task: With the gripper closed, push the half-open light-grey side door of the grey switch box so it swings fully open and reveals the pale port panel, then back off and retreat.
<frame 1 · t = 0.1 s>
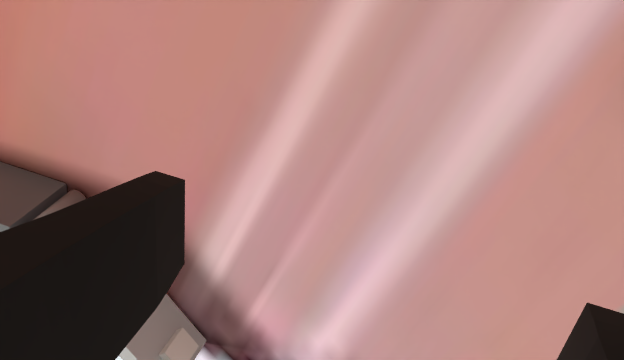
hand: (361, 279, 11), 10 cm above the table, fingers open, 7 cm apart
grey switch box: (16, 244, 30), on the table
side door: (119, 292, 26), point 2 cm above the table, hinge at 45.0°
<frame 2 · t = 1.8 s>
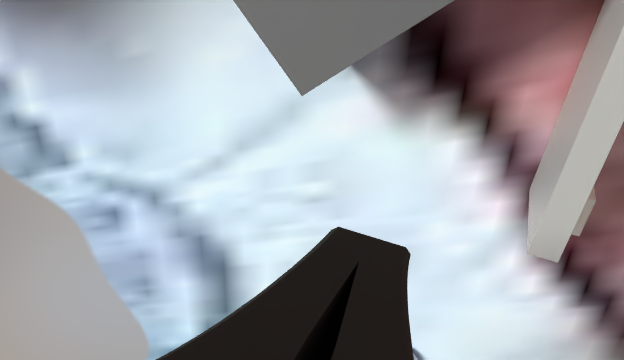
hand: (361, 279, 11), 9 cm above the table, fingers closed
side door: (614, 72, 15), point 2 cm above the table, hinge at 45.0°
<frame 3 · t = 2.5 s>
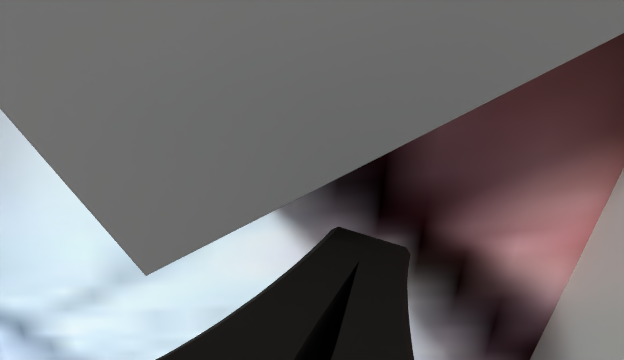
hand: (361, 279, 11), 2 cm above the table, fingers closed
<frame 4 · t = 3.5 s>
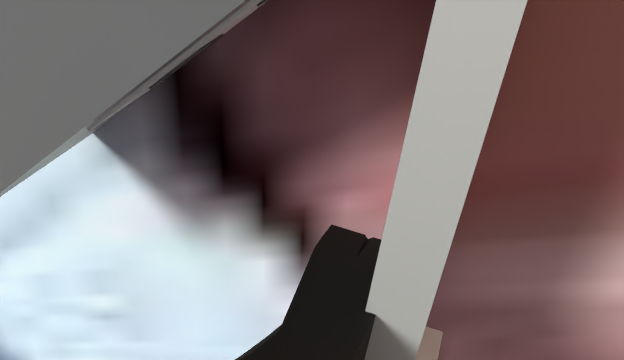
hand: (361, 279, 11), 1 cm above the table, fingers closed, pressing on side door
side door: (440, 207, 9), point 2 cm above the table, hinge at 46.0°, touching gripper
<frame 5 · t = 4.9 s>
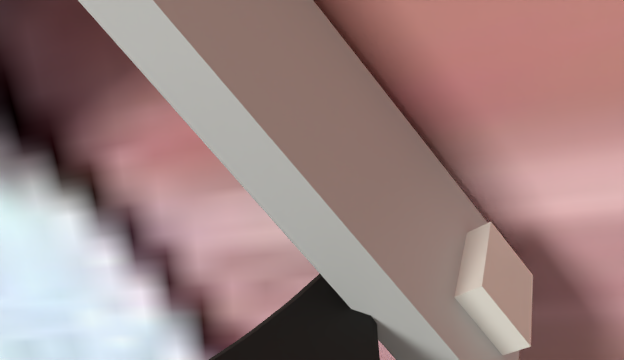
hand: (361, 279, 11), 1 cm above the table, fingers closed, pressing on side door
side door: (319, 110, 8), point 2 cm above the table, hinge at 94.5°, touching gripper
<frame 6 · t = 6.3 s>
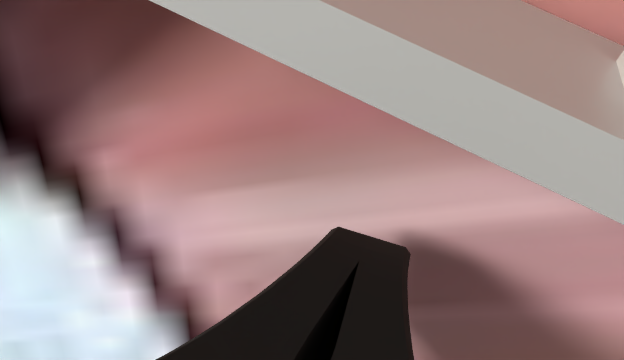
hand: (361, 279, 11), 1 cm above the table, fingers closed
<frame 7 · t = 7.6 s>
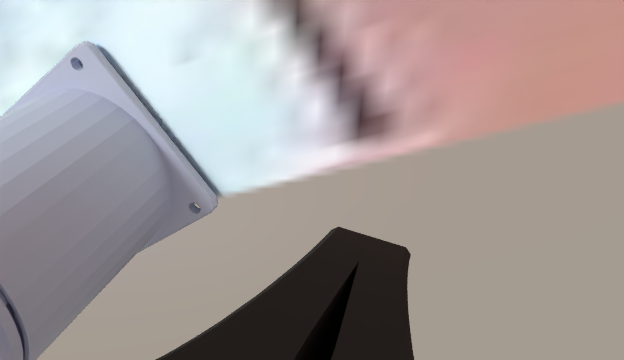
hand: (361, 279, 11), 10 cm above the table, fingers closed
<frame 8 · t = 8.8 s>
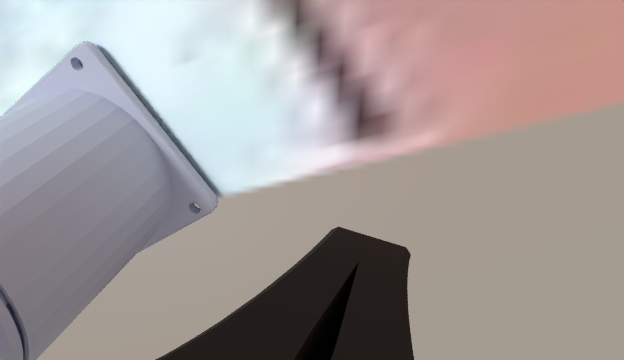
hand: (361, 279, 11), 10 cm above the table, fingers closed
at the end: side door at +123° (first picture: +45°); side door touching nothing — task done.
